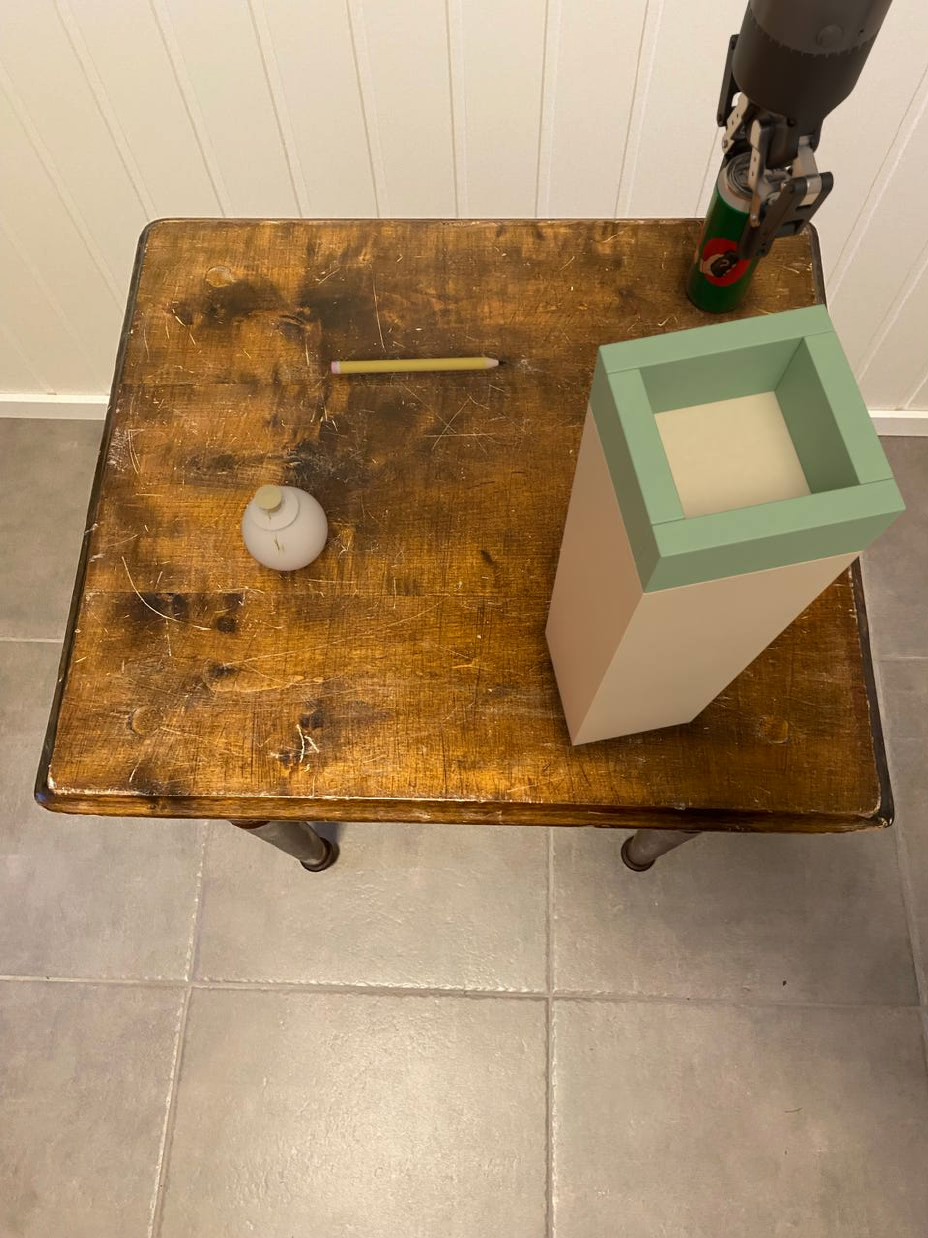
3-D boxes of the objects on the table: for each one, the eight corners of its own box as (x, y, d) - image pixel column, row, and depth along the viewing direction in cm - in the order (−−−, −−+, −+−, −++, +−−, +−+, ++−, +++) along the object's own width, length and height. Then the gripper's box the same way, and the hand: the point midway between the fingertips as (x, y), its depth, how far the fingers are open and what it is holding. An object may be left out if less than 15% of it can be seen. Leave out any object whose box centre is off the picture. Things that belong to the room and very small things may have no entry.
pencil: (507, 371, 71) (507, 363, 70) (333, 376, 71) (331, 369, 70) (506, 361, 71) (507, 353, 70) (333, 366, 71) (331, 358, 70)
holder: (658, 609, 64) (825, 302, 32) (690, 722, 61) (907, 508, 29) (544, 632, 63) (598, 345, 32) (572, 746, 61) (660, 557, 29)
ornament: (326, 501, 67) (299, 432, 58) (344, 590, 65) (318, 534, 55) (248, 518, 67) (208, 452, 57) (263, 608, 64) (223, 555, 55)
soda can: (754, 309, 72) (804, 194, 60) (695, 322, 71) (733, 210, 60) (734, 260, 73) (779, 139, 62) (676, 273, 73) (710, 154, 62)
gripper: (930, 80, 47) (818, 293, 63) (841, -99, 52) (758, 142, 68) (794, 104, 47) (717, 312, 63) (717, -78, 51) (663, 159, 67)
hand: (738, 223), depth 65 cm, fingers closed on soda can, 5 cm apart
